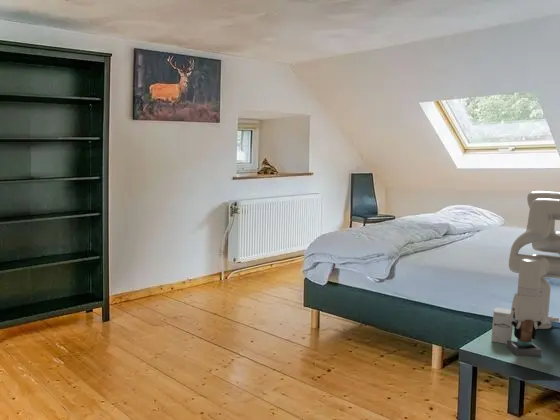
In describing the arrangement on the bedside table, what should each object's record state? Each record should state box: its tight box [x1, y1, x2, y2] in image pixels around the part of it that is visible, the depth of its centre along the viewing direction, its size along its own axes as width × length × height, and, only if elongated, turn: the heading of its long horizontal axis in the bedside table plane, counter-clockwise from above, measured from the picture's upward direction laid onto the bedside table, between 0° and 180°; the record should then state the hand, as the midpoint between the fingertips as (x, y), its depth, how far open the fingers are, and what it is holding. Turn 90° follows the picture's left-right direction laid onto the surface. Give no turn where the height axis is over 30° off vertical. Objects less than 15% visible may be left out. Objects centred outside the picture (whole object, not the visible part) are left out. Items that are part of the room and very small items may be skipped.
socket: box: [506, 340, 542, 357], centre depth 204 cm, size 9×9×2 cm
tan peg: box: [516, 320, 533, 346], centre depth 203 cm, size 5×5×10 cm
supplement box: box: [490, 306, 514, 345], centre depth 215 cm, size 7×7×13 cm
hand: (524, 337), depth 203 cm, fingers closed on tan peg, 5 cm apart
